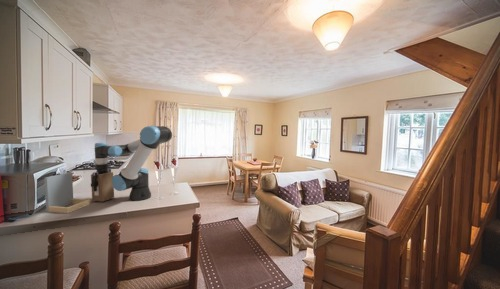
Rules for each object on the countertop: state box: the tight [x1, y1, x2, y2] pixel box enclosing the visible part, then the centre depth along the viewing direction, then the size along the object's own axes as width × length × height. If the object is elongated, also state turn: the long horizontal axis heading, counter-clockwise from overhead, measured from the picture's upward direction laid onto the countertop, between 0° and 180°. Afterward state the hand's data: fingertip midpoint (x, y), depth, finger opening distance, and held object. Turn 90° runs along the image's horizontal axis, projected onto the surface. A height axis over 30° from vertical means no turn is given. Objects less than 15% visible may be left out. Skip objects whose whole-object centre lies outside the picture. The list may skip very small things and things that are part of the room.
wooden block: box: [90, 171, 115, 203], centre depth 150 cm, size 10×10×20 cm
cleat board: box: [43, 171, 91, 214], centre depth 135 cm, size 16×16×22 cm
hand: (103, 192), depth 150 cm, fingers closed on wooden block, 10 cm apart
